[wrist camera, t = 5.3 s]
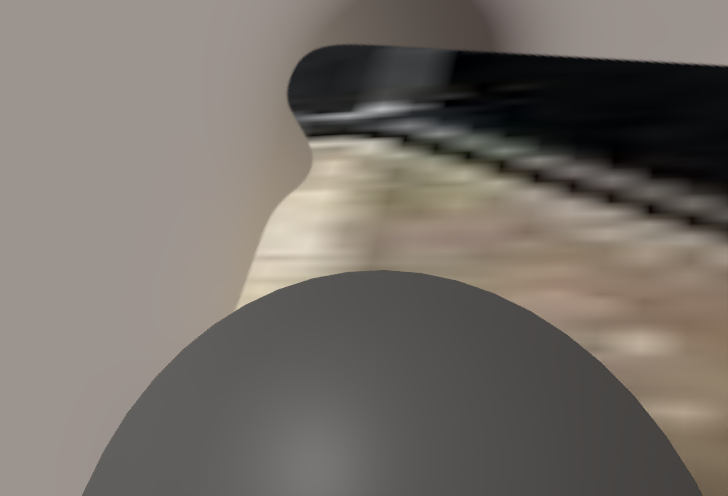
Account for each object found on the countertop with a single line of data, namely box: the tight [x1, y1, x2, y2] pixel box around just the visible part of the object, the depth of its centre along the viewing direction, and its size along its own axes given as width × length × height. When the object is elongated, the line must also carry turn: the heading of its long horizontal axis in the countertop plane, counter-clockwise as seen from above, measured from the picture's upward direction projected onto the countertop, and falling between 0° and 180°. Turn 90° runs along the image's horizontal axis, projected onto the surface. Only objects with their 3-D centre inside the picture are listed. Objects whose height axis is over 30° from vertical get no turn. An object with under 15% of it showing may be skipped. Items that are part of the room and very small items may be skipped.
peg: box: [82, 270, 702, 496], centre depth 9 cm, size 6×6×13 cm
